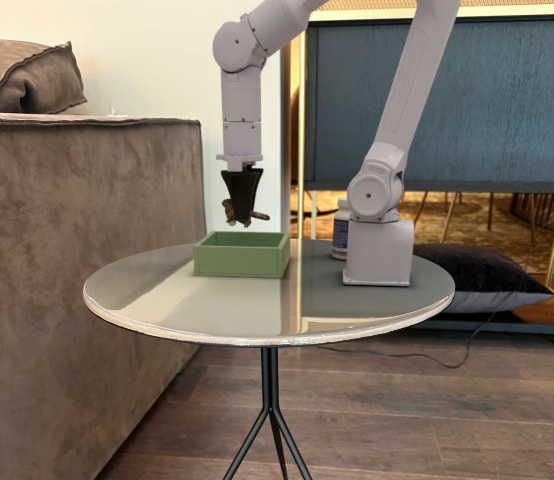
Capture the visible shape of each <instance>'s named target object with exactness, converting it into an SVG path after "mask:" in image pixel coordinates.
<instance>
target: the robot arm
mask: <svg viewBox="0 0 554 480" xmlns="http://www.w3.org/2000/svg"><path fill="white" fill-rule="evenodd" d="M328 2H330V0H264V1H262V2H261V3H259V4H258V5H257V6H255V8H253V10H251V11H250V12H249V13H247V12H244V13H243V14H241V15H240V16H239V20H240V21H232V20H229V21H226V22H223V23H222V25H221V26H220V28H219V29H217V31H216V33H215V35H214V37H213V39H212V40H213V41H212V55H213V58H214V61H215V62H216V64H217V65H218V67H220V91H221V92H220V93H221V95H220V96H221V120H222V144H223V153H221V154H215V160H217V161H218V160H220V161H221V160H222V161H223V162H226V164H227V165H226V167H227V169H222V170H220V176H221V178H222V180H223V182H224V184H225V186H226V189H227V192H228V194H229V199H231V203H232V208H233V212H234V216H235V219H245V220H248V219H249V217H250V213H251V211H255V206H256V205H255V204H256V197H257V191H258V187H259V184H260V182H261V179H262V176H263V174H264V170H265V169H264V168H263V167H255V166H257V162H262V161H264V155H263V154H262V83H261V82H262V81H261V79H262V77H261V75H262V72H263V70H264V69H265V67H266V64H267V61H268V58H271V57H272V56H273V55H275V54H276V53H277V52H278V51H280V50H281V49H283V48H284V47H285V46H286V45H287V44H289V43H290V42H292V41H293V40H294V39H295V38H297V37H298V36H300V35H301V34H302V33H303V32H305V31H306V30H307V29H308V27H309V26H308V25H309V22H310V18H311V14H312V13H313V12H315V11H317V9H319V8H321V7H322V6H323V5H325V4H327V3H328ZM415 2H416V10H415V12H414V15H413V17H412V18H413V19H412V22H411V25H410V27H409V30H408V34H407V36H406V39H405V43H404V47H403V49H402V52H401V56H400V58H399V61H398V65H397V69H396V71H395V74H394V78H393V81H392V83H391V87H390V90H389V92H388V93H389V94H388V97H387V99H386V102H385V106H384V109H383V111H382V114H381V118H380V120H379V125H378V127H377V131H376V134H375V137H374V140H373V143H372V145H371V146H370V148H369V150H368V151H367V154H366V155H365V157H364V160H363V162H362V164H361V168H360V170H359V171H358V173H357V174H356V175H355V176H354V177H353V178H352V179H351V181H350V182H349V184H348V186H347V189H346V198H347V203H348V206H349V208H350V210H351V211H352V212H353V213H351V214H349V228H348V245H347V260H346V265H345V268H343V269H342V284H343V285H356V286H390V287H391V286H393V287H409V286H410V285H411V283H410V278H411V271H412V260H413V251H414V241H415V224H414V221H413V220H412V219H401V213H399V211H398V209H397V206H398V205H399V204H400V202H401V200H402V198H403V196H404V191H405V186H404V174H405V171H406V169H407V166H408V165H407V164H408V156H409V151H410V148H411V146H412V143H413V139H414V137H415V134H416V131H417V129H418V125H419V123H420V120H421V117H422V115H423V112H424V109H425V106H426V103H427V100H428V98H429V95H430V92H431V89H432V86H433V84H434V81H435V78H436V75H437V73H438V69H439V68H440V67H439V66H440V63H441V62H442V59H443V55H444V53H445V49H446V47H447V44H448V42H449V41H448V40H449V38H450V35H451V33H452V30H453V27H454V24H455V22H456V19H457V16H458V13H459V11H460V8H461V5H462V4H461V3H462V0H415Z"/></svg>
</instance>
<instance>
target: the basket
mask: <svg viewBox="0 0 554 480" xmlns="http://www.w3.org/2000/svg"><path fill="white" fill-rule="evenodd" d="M290 248H291V233H290V232H289V231H288V232H285V231H281V232H280V231H279V232H278V231H240V230H239V231H238V230H237V231H235V230H233V231H232V230H212V231H211V232H209V233H208V234H207V235H205V236H204V237H203V238H201V239H200V240H199V241H198V242H196V244H194V245H193V246H192V252H193V268H194V269H193V271H194V276H199V277H200V276H201V277H203V276H204V277H232V278H233V277H235V278H269V279H283V277H284V274H285V272H286V269H287V267H288V264H289V261H290V258H291V256H290V255H291V254H290V253H291V249H290Z"/></svg>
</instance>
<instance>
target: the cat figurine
mask: <svg viewBox="0 0 554 480" xmlns="http://www.w3.org/2000/svg"><path fill="white" fill-rule="evenodd" d="M221 205H222V207H223V208H224V214H225V216H226V220H225V223H226V224H228V226H229V227H235V226H236V225H237V223H240V224H241V225H243V228H246V229H248V228H249V227H250V226H251V224H252V223H253V221H252V218H253V219H257V220H262V221H264V222H265V221H266V222H267V221H268V222H269V221H270V220H271V216H270V215H268V214H267V213H262V212H260V211H259V212H258V211H255V210H253V211H251V213H250V217H249V219H248V220H245V219H235V216H234V212H233V208H232V203H231V199H230V198H224V199H223V200H222V201H221Z"/></svg>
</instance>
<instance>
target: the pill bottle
mask: <svg viewBox="0 0 554 480" xmlns="http://www.w3.org/2000/svg"><path fill="white" fill-rule="evenodd" d="M336 206H337V207H338V210H337V211H336V212H335V213H334V215H333V224H332V225H333V226H332V243H331V255H332V257H333V258H334V259H338V260H341V261H347V245H348V228H349V214H351V213H353V212H352V211H351V210H350V208H349V206H348V203H347V197H339V198H337V205H336Z"/></svg>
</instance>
